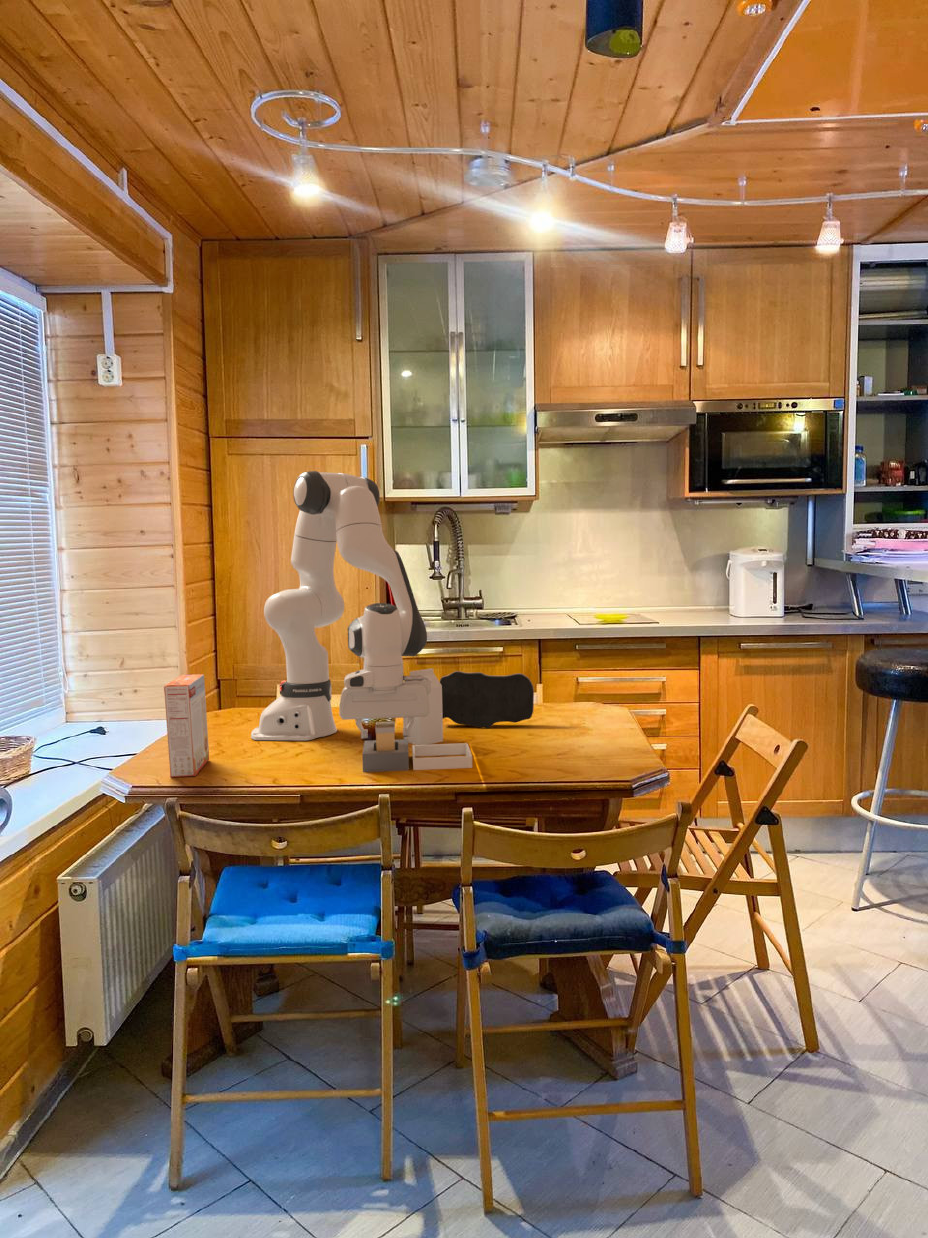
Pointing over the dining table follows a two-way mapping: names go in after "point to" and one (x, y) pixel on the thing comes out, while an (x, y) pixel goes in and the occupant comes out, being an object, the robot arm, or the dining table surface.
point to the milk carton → (432, 724)
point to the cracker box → (186, 725)
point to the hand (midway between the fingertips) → (385, 737)
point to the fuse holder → (385, 757)
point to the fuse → (385, 735)
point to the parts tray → (441, 761)
